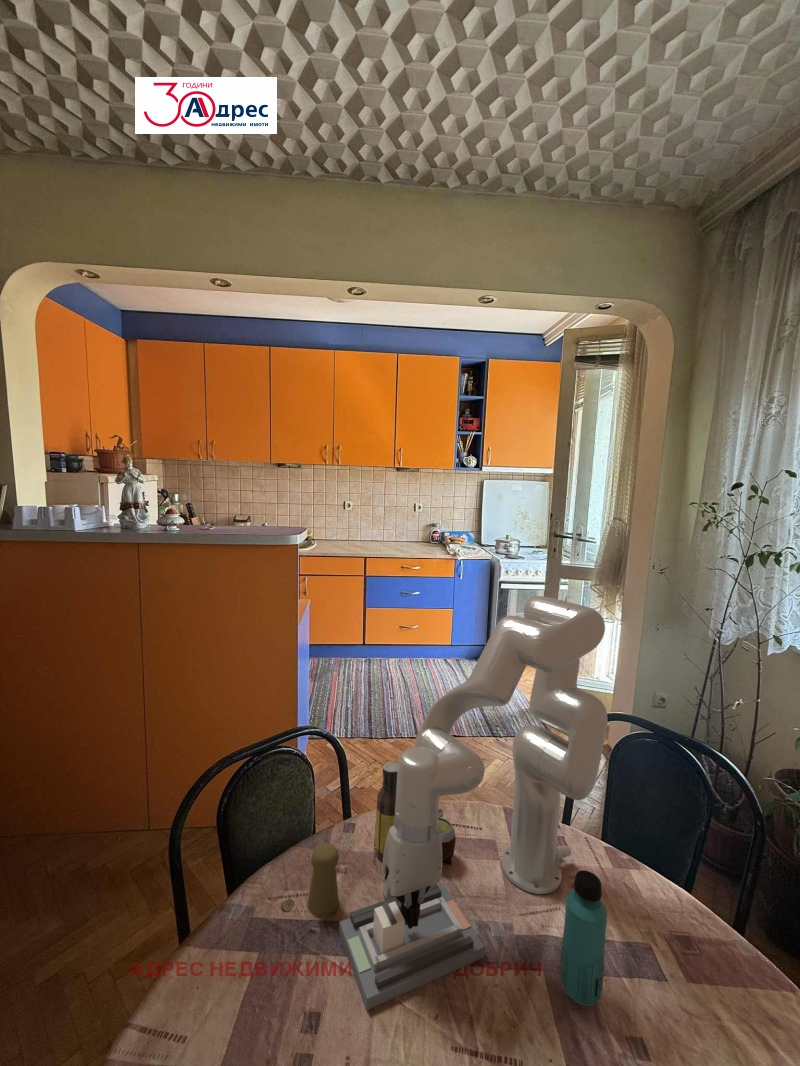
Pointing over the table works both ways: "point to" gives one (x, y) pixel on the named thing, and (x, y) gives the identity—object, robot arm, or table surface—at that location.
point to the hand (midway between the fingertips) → (409, 920)
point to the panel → (409, 948)
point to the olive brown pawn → (323, 881)
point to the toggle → (388, 927)
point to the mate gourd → (447, 840)
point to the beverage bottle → (584, 940)
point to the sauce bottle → (385, 807)
